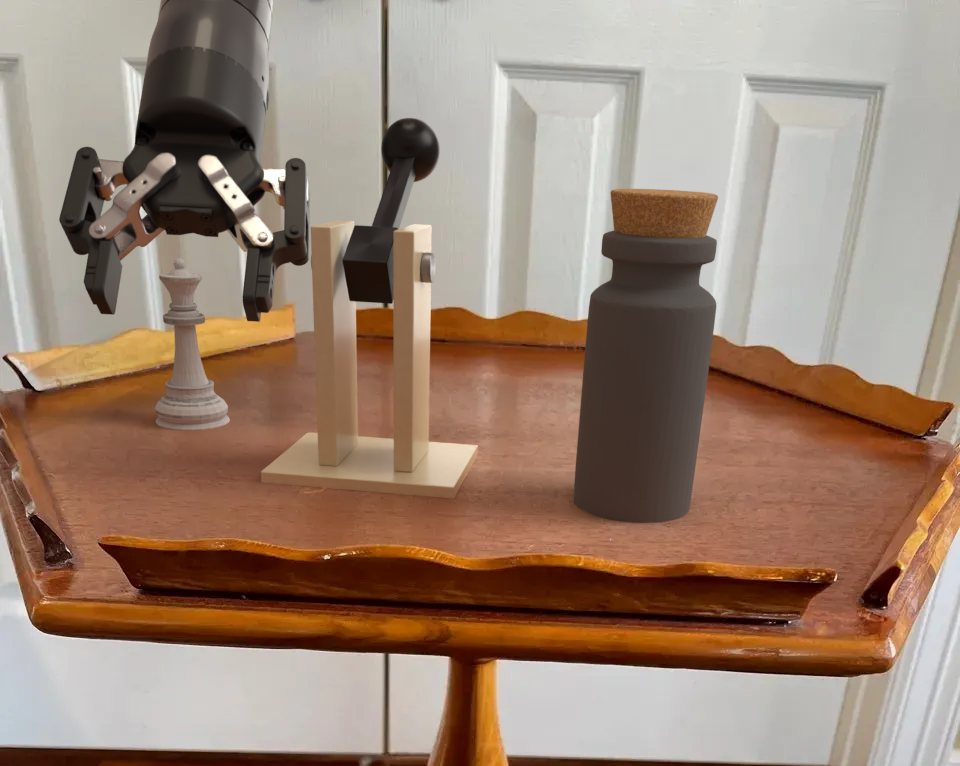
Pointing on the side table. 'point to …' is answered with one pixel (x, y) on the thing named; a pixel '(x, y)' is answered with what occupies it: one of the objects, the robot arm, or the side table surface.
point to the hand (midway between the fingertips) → (177, 309)
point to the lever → (389, 211)
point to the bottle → (647, 359)
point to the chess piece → (187, 362)
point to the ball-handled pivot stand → (337, 446)
